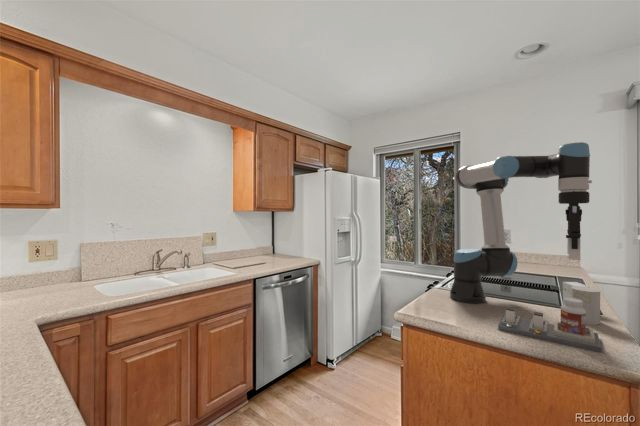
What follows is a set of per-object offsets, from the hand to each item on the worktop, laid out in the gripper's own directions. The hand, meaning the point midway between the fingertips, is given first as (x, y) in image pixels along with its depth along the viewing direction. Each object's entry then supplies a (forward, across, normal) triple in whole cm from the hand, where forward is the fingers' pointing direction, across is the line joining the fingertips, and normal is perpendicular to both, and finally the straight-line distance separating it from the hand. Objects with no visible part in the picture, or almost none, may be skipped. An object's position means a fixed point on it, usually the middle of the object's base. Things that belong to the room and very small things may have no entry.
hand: (573, 256), depth 93 cm
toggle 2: (+25, -2, +9) cm, 27 cm away
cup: (+27, +23, -4) cm, 35 cm away
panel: (+27, -1, +7) cm, 28 cm away
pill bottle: (+25, 0, 0) cm, 25 cm away
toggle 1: (+25, -2, +17) cm, 30 cm away
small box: (+27, +38, -2) cm, 46 cm away
